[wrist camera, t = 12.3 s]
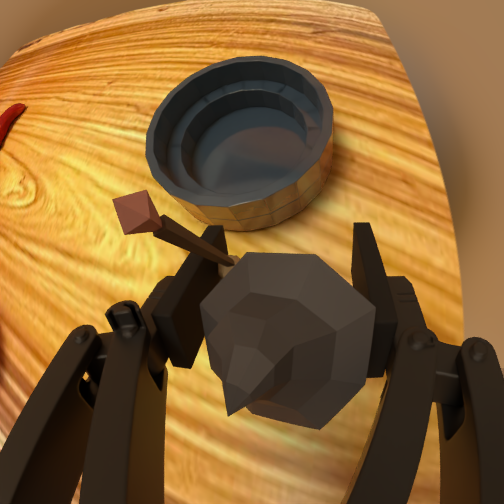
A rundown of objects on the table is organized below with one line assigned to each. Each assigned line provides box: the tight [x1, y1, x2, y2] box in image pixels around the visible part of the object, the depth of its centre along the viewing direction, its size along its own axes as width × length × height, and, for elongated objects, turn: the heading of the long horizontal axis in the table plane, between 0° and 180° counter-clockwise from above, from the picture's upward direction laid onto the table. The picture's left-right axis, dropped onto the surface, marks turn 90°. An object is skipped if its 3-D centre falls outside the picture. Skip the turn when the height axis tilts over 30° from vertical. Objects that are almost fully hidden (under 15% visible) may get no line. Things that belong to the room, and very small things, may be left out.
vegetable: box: [0, 103, 25, 146], centre depth 42 cm, size 4×5×12 cm
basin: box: [145, 56, 333, 231], centre depth 26 cm, size 16×16×6 cm
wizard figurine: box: [112, 190, 376, 430], centre depth 12 cm, size 8×6×12 cm
